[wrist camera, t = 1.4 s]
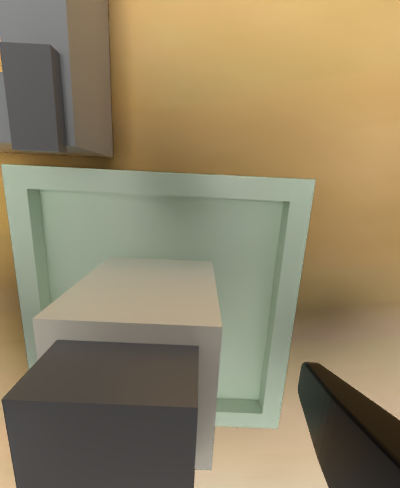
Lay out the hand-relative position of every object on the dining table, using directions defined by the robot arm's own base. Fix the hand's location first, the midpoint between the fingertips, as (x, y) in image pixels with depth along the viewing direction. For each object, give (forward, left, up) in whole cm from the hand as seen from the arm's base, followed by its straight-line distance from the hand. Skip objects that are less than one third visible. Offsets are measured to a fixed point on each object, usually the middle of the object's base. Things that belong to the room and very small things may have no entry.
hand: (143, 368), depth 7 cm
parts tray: (0, 0, -4) cm, 4 cm away
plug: (0, 0, -4) cm, 4 cm away
